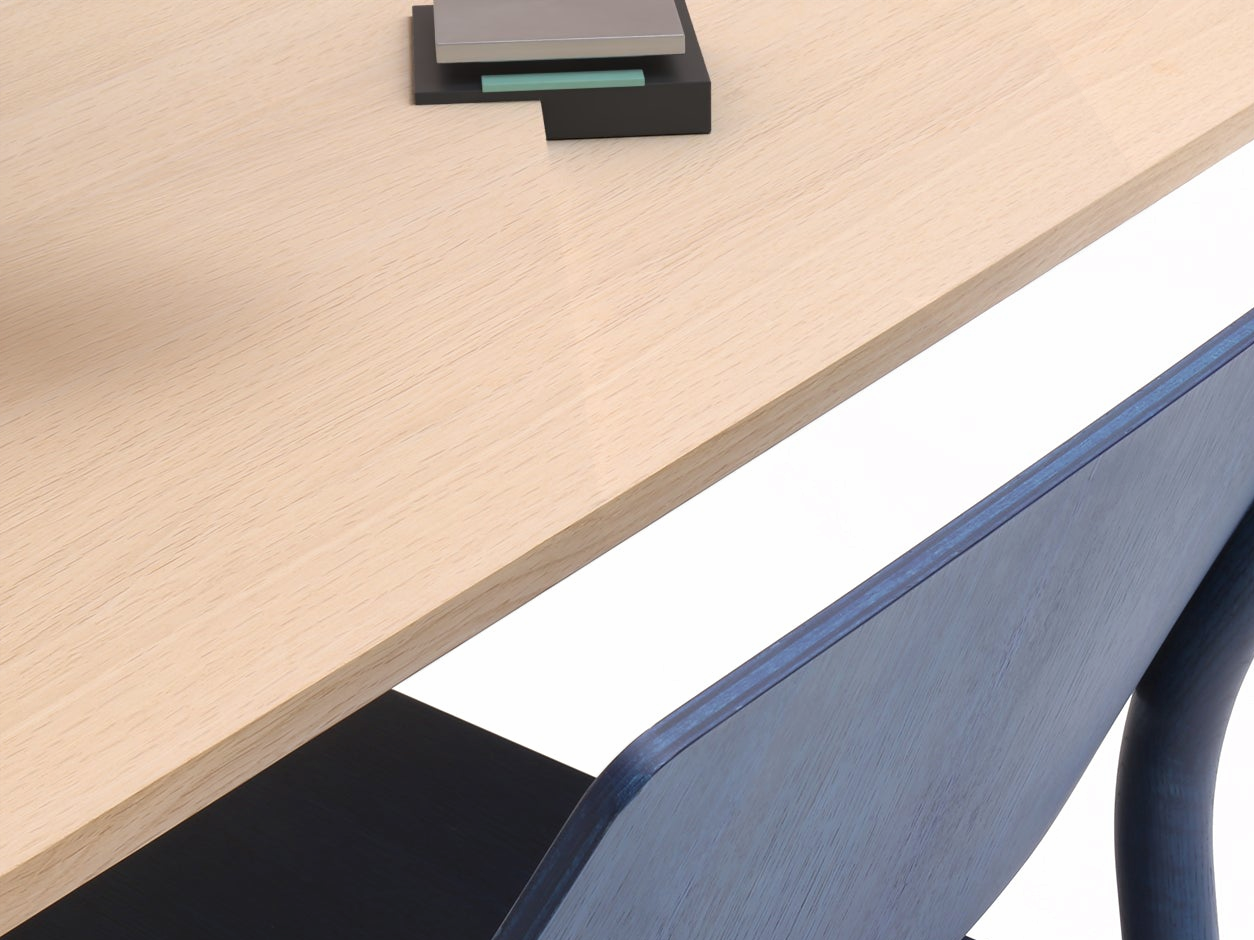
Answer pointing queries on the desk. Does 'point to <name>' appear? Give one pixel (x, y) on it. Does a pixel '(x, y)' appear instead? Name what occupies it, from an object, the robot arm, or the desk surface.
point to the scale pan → (554, 29)
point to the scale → (577, 86)
